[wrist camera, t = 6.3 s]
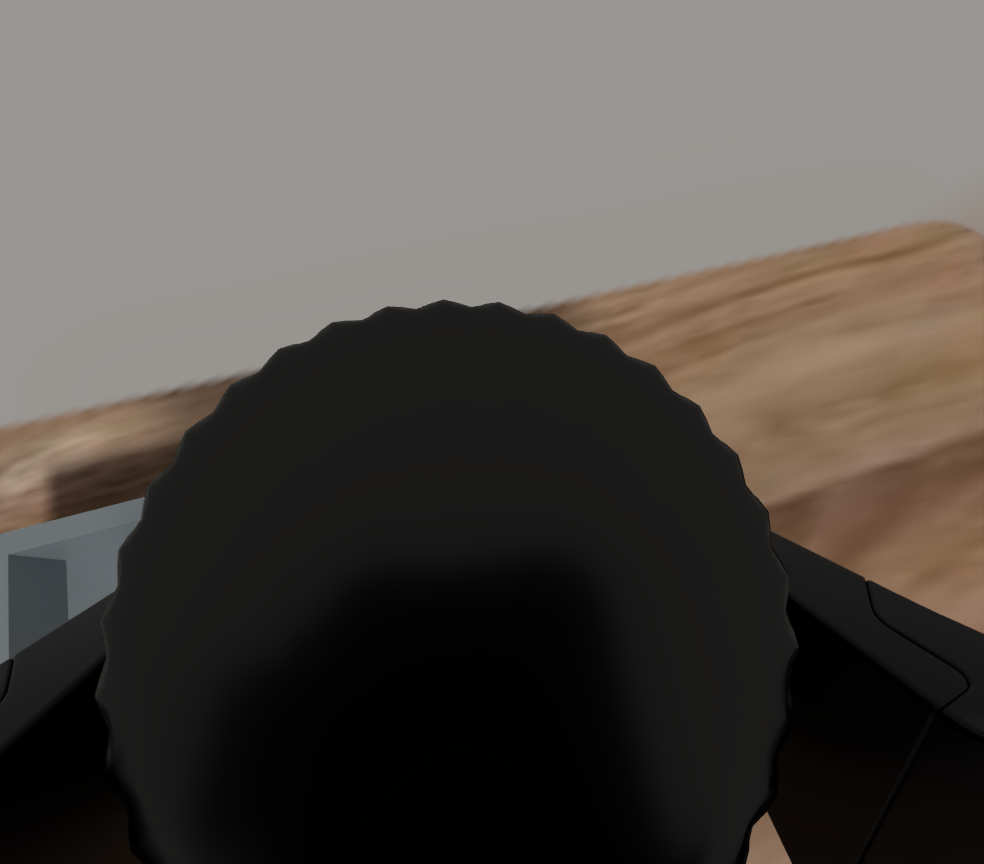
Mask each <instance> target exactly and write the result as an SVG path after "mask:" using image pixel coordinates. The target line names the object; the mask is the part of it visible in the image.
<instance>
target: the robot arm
mask: <svg viewBox="0 0 984 864" xmlns="http://www.w3.org/2000/svg"><path fill="white" fill-rule="evenodd" d="M771 545H772V547H773V548H774V550H775V552H776V553H777V555H778V556H779V558H780V559H781V561H782V563H783V565H784V567H785V569H786V570H787V572H788V574H789V576H790V577H789V593H788V599H787V606H786V612H787V615H788V618H789V621H790V624H791V626H792V627H793V629H794V632H795V636H796V639H797V642H798V645H799V649H798V653H797V657H796V661H795V665H794V667H793V670H792V673H791V676H790V678H789V685H790V690H791V695H792V699H793V706H794V713H795V721H796V722H795V724H794V726H793V728H792V730H791V732H790V734H789V736H788V738H787V740H786V742H785V743H784V745H783V746H782V748H781V750H780V751H779V753H778V760H777V770H778V776H779V777H778V796H777V798H776V800H775V801H774V802H773V804H772V805H771V806H770V808H769V809H768V810H767V812H768V814H769V816H770V818H771V821H772V823H773V825H774V827H775V829H776V831H777V833H778V835H779V837H780V839H781V842H782V844H783V846H784V848H785V850H786V852H787V854H788V856H789V858H790V860H791V863H792V864H984V634H983V633H981V632H978V631H976V630H974V629H972V628H970V627H967V626H965V625H963V624H961V623H958V622H956V621H954V620H952V619H949V618H947V617H945V616H943V615H940V614H938V613H936V612H934V611H932V610H930V609H928V608H926V607H924V606H921V605H919V604H917V603H915V602H913V601H911V600H909V599H907V598H905V597H903V596H901V595H899V594H896V593H894V592H892V591H890V590H888V589H886V588H884V587H883V586H881V585H879V584H877V583H875V582H873V581H870V580H868V581H866V580H865V578H864V577H862V576H860V575H858V574H856V573H854V572H852V571H850V570H848V569H846V568H844V567H842V566H840V565H838V564H836V563H834V562H832V561H830V560H828V559H826V558H824V557H822V556H820V555H818V554H816V553H814V552H812V551H810V550H808V549H806V548H804V547H802V546H800V545H798V544H796V543H794V542H792V541H790V540H788V539H786V538H784V537H782V536H780V535H778V534H776V533H774V532H772V531H771ZM114 592H115V591H114ZM114 592H112V593H111V594H109V595H108V596H106V597H104V598H103V599H101V600H100V601H98V602H97V603H95V604H94V605H92V606H90V607H89V608H87V609H86V610H84V611H83V612H81V613H79V614H78V615H76V616H75V617H73V618H72V619H70V620H69V621H67V622H65V623H64V624H62V625H61V626H59V627H58V628H56V629H55V630H53V631H51V632H50V633H48V634H47V635H45V636H44V637H42V638H40V639H39V640H37V641H36V642H34V643H33V644H31V645H30V646H28V647H26V648H25V649H23V650H22V651H20V652H19V653H17V654H16V655H15V657H14V659H7V660H6V661H4V662H3V663H1V664H0V864H143V863H142V862H141V861H140V860H139V859H138V858H137V857H136V856H135V855H134V854H133V853H132V852H131V850H130V842H129V834H128V824H129V820H128V812H127V806H126V805H125V803H124V802H123V801H122V800H121V798H120V797H119V796H118V795H117V793H116V792H115V791H114V789H113V788H112V786H111V784H110V783H109V781H108V780H107V778H106V776H105V760H106V752H107V748H108V738H109V730H108V728H107V726H106V724H105V722H104V720H103V717H102V715H101V713H100V710H99V708H98V705H97V702H96V699H95V693H96V689H97V685H98V681H99V678H100V674H101V671H102V668H103V665H104V662H105V659H106V652H105V648H104V643H103V639H102V633H101V626H100V619H101V617H102V615H103V613H104V610H105V608H106V606H107V604H108V602H109V601H110V599H111V598H112V596H113V594H114Z"/></svg>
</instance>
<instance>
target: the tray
mask: <svg viewBox="0 0 984 864" xmlns="http://www.w3.org/2000/svg"><path fill="white" fill-rule="evenodd" d="M144 499H145V497H142V498H138V499H134V500H131V501H127V502H123V503H119V504H115V505H111V506H107V507H103V508H99V509H95V510H91V511H88V512H84V513H80V514H76V515H72V516H68V517H64V518H60V519H56V520H52V521H48V522H45V523H41V524H37V525H33V526H29V527H25V528H21V529H17V530H13V531H9V532H5V533H2V534H0V664H1V663H3V662H4V661H6V660H7V659H14V657H15V655H16V654H17V653H19V652H20V651H22V650H23V649H25V648H26V647H28V646H30V645H31V644H33V643H34V642H36V641H37V640H39V639H40V638H42V637H44V636H45V635H47V634H48V633H50V632H51V631H53V630H55V629H56V628H58V627H59V626H61V625H62V624H64V623H65V622H67V621H69V620H70V619H72V618H73V617H75V616H76V615H78V614H79V613H81V612H83V611H84V610H86V609H87V608H89V607H90V606H92V605H94V604H95V603H97V602H98V601H100V600H101V599H103V598H104V597H106V596H108V595H109V594H111V593H112V592H114V591H115V590H116V588H117V586H118V575H117V564H118V550H119V548H120V547H121V545H122V544H123V542H124V541H125V539H126V538H127V536H128V535H129V534H130V533H131V532H132V531H133V530H134V529H135V527H136V526H137V524H138V523H139V522H140V520H141V515H142V509H143V503H144Z"/></svg>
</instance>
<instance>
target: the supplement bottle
mask: <svg viewBox="0 0 984 864" xmlns="http://www.w3.org/2000/svg"><path fill="white" fill-rule="evenodd" d="M117 575H118V586H117V588H116V590H115V592H114V594H113V596H112V598H111V599H110V601H109V602H108V604H107V606H106V608H105V610H104V613H103V615H102V617H101V619H100V626H101V633H102V639H103V643H104V648H105V652H106V659H105V662H104V665H103V668H102V671H101V674H100V678H99V681H98V685H97V689H96V693H95V699H96V702H97V705H98V708H99V710H100V713H101V715H102V717H103V720H104V722H105V724H106V726H107V728H108V730H109V738H108V748H107V752H106V760H105V776H106V778H107V780H108V781H109V783H110V784H111V786H112V788H113V789H114V791H115V792H116V793H117V795H118V796H119V797H120V798H121V800H122V801H123V802H124V803H125V805H126V806H127V812H128V820H129V824H128V834H129V842H130V850H131V852H132V853H133V854H134V855H135V856H136V857H137V858H138V859H139V860H140V861H141V862H142V863H143V864H746V861H747V857H748V852H749V839H750V835H751V831H752V827H753V825H754V824H755V823H756V822H757V821H758V820H759V819H760V818H761V817H762V816H763V815H764V814H765V813H766V812H767V810H768V809H769V808H770V806H771V805H772V804H773V802H774V801H775V800H776V798H777V796H778V777H779V776H778V770H777V760H778V753H779V751H780V750H781V748H782V746H783V745H784V743H785V742H786V740H787V738H788V736H789V734H790V732H791V730H792V728H793V726H794V724H795V722H796V721H795V713H794V706H793V699H792V695H791V690H790V685H789V678H790V676H791V673H792V670H793V667H794V665H795V661H796V657H797V653H798V649H799V645H798V642H797V639H796V636H795V632H794V629H793V627H792V626H791V624H790V621H789V618H788V615H787V612H786V606H787V599H788V593H789V577H790V576H789V574H788V572H787V570H786V569H785V567H784V565H783V563H782V561H781V559H780V558H779V556H778V555H777V553H776V552H775V550H774V548H773V547H772V545H771V530H770V520H769V512H768V510H767V509H766V508H765V507H764V505H763V504H762V503H761V502H760V500H759V499H758V498H757V497H756V496H755V495H753V493H752V492H751V491H750V490H749V488H748V487H747V486H746V483H745V479H744V474H743V470H742V466H741V463H740V460H739V457H738V454H737V453H735V452H734V451H733V450H732V449H731V448H730V447H729V446H728V445H727V444H725V443H723V442H722V441H720V440H719V439H718V438H717V437H716V436H715V435H714V434H712V431H711V429H710V426H709V424H708V422H707V419H706V417H705V415H704V413H703V412H702V410H701V408H700V406H699V405H697V404H696V403H694V402H693V401H691V400H689V399H688V398H686V397H683V396H681V395H679V394H678V393H676V392H674V391H673V390H672V389H671V387H670V386H669V384H668V383H667V381H666V380H665V378H664V377H663V375H662V374H661V373H660V371H659V370H658V369H657V368H656V366H654V365H652V364H649V363H647V362H644V361H642V360H639V359H636V358H632V357H629V356H627V355H626V354H625V353H624V352H623V351H622V350H621V349H620V348H619V347H618V346H617V345H616V344H615V343H614V342H613V341H612V340H611V339H610V338H609V337H608V336H607V335H603V334H598V333H593V332H583V331H578V330H576V329H575V328H574V327H572V326H571V325H570V324H568V323H567V322H566V321H564V320H563V319H561V318H559V317H558V316H556V315H555V314H542V313H539V314H524V313H522V312H520V311H518V310H516V309H514V308H512V307H510V306H507V305H505V304H502V303H500V302H497V303H489V304H484V305H481V306H475V307H469V306H466V305H463V304H459V303H456V302H451V301H447V300H441V301H437V302H435V303H431V304H428V305H426V306H423V307H421V308H418V309H411V308H404V307H385V308H383V309H381V310H379V311H377V312H375V313H374V314H372V315H371V316H370V317H368V318H366V319H364V320H358V321H341V322H333V323H331V324H329V325H328V326H327V327H325V328H324V329H322V330H321V331H320V332H319V333H318V334H317V335H316V336H315V337H314V338H312V339H311V340H310V341H307V342H304V343H301V344H293V345H290V346H287V347H284V348H280V349H278V350H277V352H276V353H275V354H274V355H273V356H272V357H271V358H270V359H269V360H268V361H267V363H266V364H265V365H264V366H263V368H262V369H261V370H260V371H259V372H258V373H256V374H254V375H252V376H250V377H247V378H244V379H242V380H240V381H238V382H236V383H234V384H232V385H230V386H229V388H228V389H227V391H226V392H225V394H224V395H223V397H222V398H221V400H220V402H219V403H218V405H217V407H216V409H215V411H214V413H212V414H210V415H209V416H207V417H206V418H204V419H202V420H201V421H199V422H198V423H196V424H195V425H194V426H192V427H191V428H190V429H188V430H187V431H186V432H185V434H184V436H183V438H182V440H181V443H180V445H179V447H178V450H177V453H176V456H175V459H174V462H173V463H172V464H171V465H170V466H169V467H168V468H167V469H166V470H165V471H163V472H162V473H160V474H159V475H158V476H157V477H156V478H155V479H154V480H153V481H152V482H151V483H150V485H149V486H148V487H147V491H146V495H145V499H144V503H143V509H142V515H141V520H140V522H139V523H138V524H137V526H136V527H135V529H134V530H133V531H132V532H131V533H130V534H129V535H128V536H127V538H126V539H125V541H124V542H123V544H122V545H121V547H120V548H119V550H118V564H117Z"/></svg>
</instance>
